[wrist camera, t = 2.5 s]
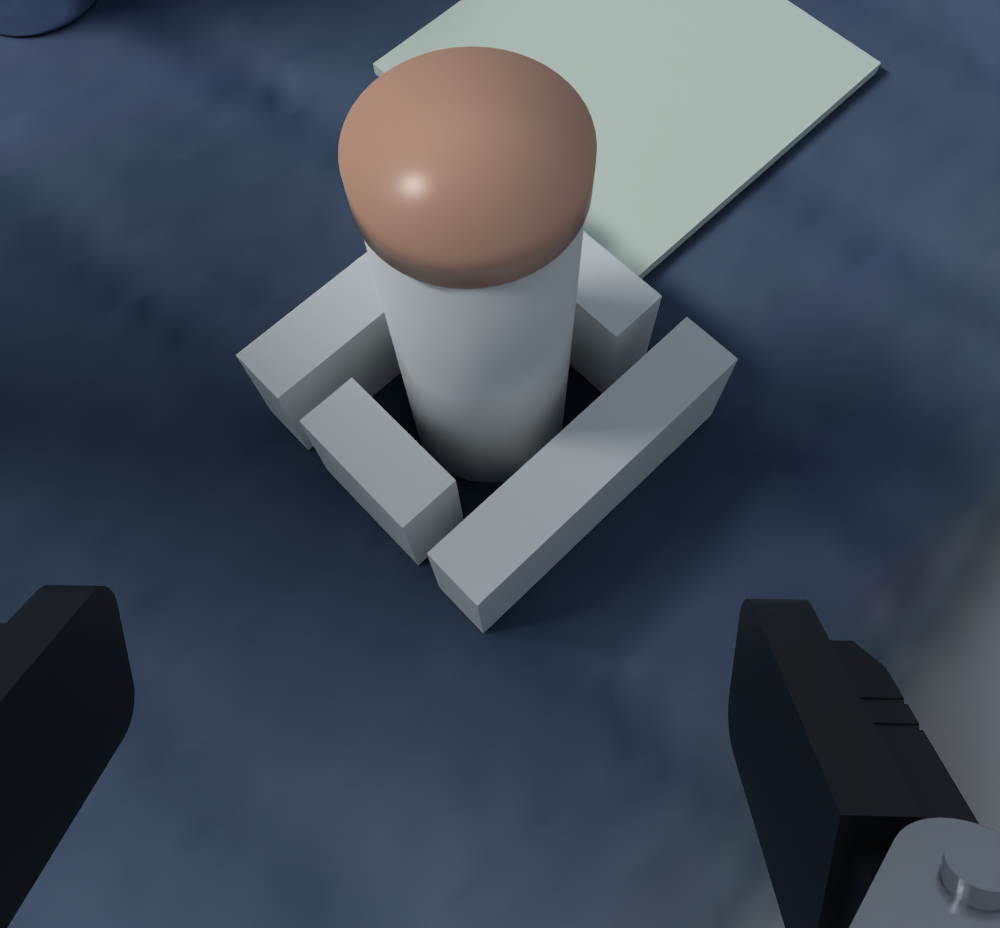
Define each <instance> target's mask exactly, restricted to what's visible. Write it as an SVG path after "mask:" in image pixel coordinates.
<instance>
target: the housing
mask: <svg viewBox="0 0 1000 928" xmlns="http://www.w3.org/2000/svg"><path fill="white" fill-rule="evenodd" d="M661 298H662V296H661V295H660V294H659V293H658V292H657V291H655V290H654V289H653V288H652V287H651V286H649V285H648V284H647V283H646V282H645V281H643V280H642V279H641V278H640V277H639V276H637V275H636V274H635V273H634V272H632V271H631V270H630V269H629V268H628V267H626V266H625V265H624V264H623V263H622V262H620V261H619V260H618V259H617V258H616V257H614V256H613V255H612V254H611V253H610V252H608V251H607V250H606V249H605V248H603V247H602V246H601V245H600V244H599V243H597V242H596V241H595V240H594V239H593V238H591V237H590V236H589V235H588V234H587V233H585V232H584V231H583V240H582V250H581V259H580V269H579V278H578V287H577V297H576V306H575V316H574V325H573V334H572V344H571V353H570V363H569V364H570V365H571V366H572V367H573V368H574V369H576V370H577V371H578V372H579V373H580V374H581V375H582V376H583V377H585V378H586V379H587V380H588V381H589V382H590V383H591V384H592V385H593V386H595V387H596V388H597V389H598V390H599V391H600V392H601V393H602V394H601V395H600V396H599V397H598V398H597V399H596V400H595V401H594V402H593V403H591V404H590V405H589V406H588V407H587V408H586V409H585V410H584V411H583V412H582V413H580V414H579V415H578V416H577V417H576V418H575V419H574V420H573V421H572V422H571V423H569V424H568V425H567V426H566V427H565V428H564V429H563V430H562V431H561V432H560V433H558V434H557V435H556V436H555V437H554V438H553V439H552V440H551V441H550V442H549V443H547V444H546V445H545V446H544V447H543V448H542V449H541V450H540V451H539V452H538V453H537V454H535V455H534V456H533V457H532V458H531V459H530V460H529V461H528V462H527V463H526V464H524V465H523V466H522V467H521V468H520V469H519V470H518V471H517V472H516V473H515V474H513V475H512V476H511V477H510V478H509V479H508V480H507V481H506V482H505V483H504V484H502V485H501V486H500V487H499V488H498V489H497V490H496V491H495V492H494V493H493V494H491V495H490V496H489V497H488V498H487V499H486V500H485V501H484V502H483V503H482V504H480V505H479V506H478V507H477V508H476V509H475V510H474V511H473V512H472V513H471V514H470V515H468V516H467V517H466V518H465V519H463V514H462V509H461V504H460V499H459V494H458V489H457V484H456V480H455V479H454V478H453V477H452V476H451V475H450V474H449V473H448V472H447V471H446V470H445V469H444V468H443V467H442V466H441V465H440V464H439V463H438V462H437V461H436V460H435V459H434V458H433V457H432V456H431V455H430V454H429V453H428V452H427V451H426V450H425V449H424V448H423V447H422V446H421V445H420V444H419V443H418V442H417V441H416V440H415V439H414V438H413V437H412V436H411V435H410V434H409V433H408V432H407V431H406V430H405V429H404V428H403V427H402V426H401V425H400V424H399V423H398V422H396V421H395V420H394V419H393V418H392V417H391V416H390V415H389V414H388V413H387V412H386V411H385V410H384V409H383V408H382V407H381V406H380V405H379V404H378V403H377V402H376V401H375V400H374V399H373V398H372V396H374V395H375V394H376V393H377V392H378V391H380V390H381V389H382V388H383V387H384V386H385V385H387V384H388V383H389V382H390V381H391V380H393V379H394V378H395V377H396V376H397V375H399V374H400V373H401V371H400V367H399V364H398V360H397V356H396V353H395V349H394V346H393V342H392V338H391V335H390V331H389V328H388V324H387V320H386V317H385V313H384V310H383V306H382V302H381V299H380V295H379V292H378V288H377V284H376V281H375V277H374V274H373V270H372V266H371V263H370V259H369V256H368V252H366V253H365V254H364V255H362V256H361V257H360V258H359V259H357V260H356V261H355V262H353V263H352V264H351V265H350V266H348V267H347V268H346V269H345V270H343V271H342V272H341V273H339V274H338V275H337V276H336V277H334V278H333V279H332V280H331V281H329V282H328V283H327V284H325V285H324V286H323V287H322V288H320V289H319V290H318V291H317V292H315V293H314V294H313V295H311V296H310V297H309V298H308V299H306V300H305V301H304V302H303V303H301V304H300V305H299V306H297V307H296V308H295V309H294V310H292V311H291V312H290V313H289V314H287V315H286V316H285V317H283V318H282V319H281V320H280V321H278V322H277V323H276V324H275V325H273V326H272V327H271V328H269V329H268V330H267V331H266V332H264V333H263V334H262V335H261V336H259V337H258V338H257V339H255V340H254V341H253V342H252V343H250V344H249V345H248V346H247V347H245V348H244V349H243V350H241V351H240V352H239V353H238V354H236V356H237V358H238V359H239V361H240V363H241V364H242V366H243V367H244V369H245V371H246V372H247V374H248V375H249V377H250V378H251V380H252V382H253V383H254V385H255V386H256V388H257V390H258V391H259V393H260V394H261V396H262V398H263V399H264V401H265V402H266V404H267V405H268V407H269V409H270V410H271V412H272V413H273V414H274V415H275V416H276V417H277V418H278V419H279V420H280V421H281V422H282V423H283V424H284V425H285V426H286V427H287V428H288V429H289V430H290V432H291V433H292V434H293V435H294V436H295V437H296V438H297V439H298V440H299V441H300V442H301V443H302V444H303V445H304V446H305V447H306V448H307V449H308V450H309V449H310V448H311V447H313V446H314V448H315V449H316V451H317V453H318V455H319V456H320V458H321V460H322V462H323V463H324V465H325V467H326V469H327V470H328V471H329V472H330V473H331V474H332V476H333V477H334V478H335V479H336V480H337V481H338V482H339V483H340V484H341V485H342V486H343V487H344V488H345V489H346V490H347V491H348V492H349V493H350V494H351V495H352V497H353V498H354V499H355V500H356V501H357V502H358V503H359V504H360V505H361V506H362V507H363V508H364V509H365V510H366V511H367V512H368V513H369V514H370V515H371V516H372V517H373V519H374V520H375V521H376V522H377V523H378V524H379V525H380V526H381V527H382V528H383V529H384V530H385V531H386V532H387V533H388V534H389V535H390V536H391V537H392V538H393V539H394V541H395V542H396V543H397V544H398V545H399V546H400V547H401V548H402V549H403V550H404V551H405V552H406V553H407V554H408V555H409V556H410V557H411V558H412V559H413V560H414V562H415V563H416V564H417V565H419V564H420V563H421V562H422V561H424V560H425V559H426V558H427V557H428V558H429V561H430V564H431V566H432V569H433V572H434V574H435V577H436V580H437V582H438V585H439V588H440V589H441V590H442V591H443V592H444V593H445V594H446V595H447V596H448V597H449V598H450V599H451V600H452V601H453V602H454V603H455V604H456V606H457V607H458V608H459V609H460V610H461V611H462V612H463V613H464V614H465V615H466V616H467V617H468V618H469V619H470V620H471V621H472V622H473V623H474V624H475V625H476V626H477V628H478V629H479V630H480V631H481V632H482V633H485V632H486V631H487V630H488V629H489V628H490V627H491V626H492V625H493V624H494V623H495V622H496V621H497V620H498V619H499V618H500V617H501V616H502V615H503V614H504V613H505V612H506V611H507V610H509V609H510V608H511V607H512V606H513V605H514V604H515V603H516V602H517V601H518V600H519V599H520V598H521V597H522V596H523V595H524V594H525V593H526V592H527V591H528V590H529V589H530V588H531V587H533V586H534V585H535V584H536V583H537V582H538V581H539V580H540V579H541V578H542V577H543V576H544V575H545V574H546V573H547V572H548V571H549V570H550V569H551V568H552V567H553V566H554V565H555V564H556V563H558V562H559V561H560V560H561V559H562V558H563V557H564V556H565V555H566V554H567V553H568V552H569V551H570V550H571V549H572V548H573V547H574V546H575V545H576V544H577V543H578V542H579V541H580V540H582V539H583V538H584V537H585V536H586V535H587V534H588V533H589V532H590V531H591V530H592V529H593V528H594V527H595V526H596V525H597V524H598V523H599V522H600V521H601V520H602V519H603V518H604V517H606V516H607V515H608V514H609V513H610V512H611V511H612V510H613V509H614V508H615V507H616V506H617V505H618V504H619V503H620V502H621V501H622V500H623V499H624V498H625V497H626V496H627V495H628V494H630V493H631V492H632V491H633V490H634V489H635V488H636V487H637V486H638V485H639V484H640V483H641V482H642V481H643V480H644V479H645V478H646V477H647V476H648V475H649V474H650V473H651V472H652V471H653V470H655V469H656V468H657V467H658V466H659V465H660V464H661V463H662V462H663V461H664V460H665V459H666V458H667V457H668V456H669V455H670V454H671V453H672V452H673V451H674V450H675V449H676V448H677V447H679V446H680V445H681V444H682V443H683V442H684V441H685V440H686V439H687V438H688V437H689V436H690V435H691V434H692V433H693V432H694V431H695V430H696V429H697V428H698V427H699V426H700V425H701V424H703V423H704V422H705V421H706V420H707V419H708V418H709V417H710V416H711V414H712V412H713V410H714V408H715V406H716V404H717V402H718V400H719V398H720V396H721V393H722V391H723V389H724V387H725V385H726V383H727V381H728V379H729V377H730V375H731V373H732V371H733V369H734V367H735V364H736V362H737V360H738V358H736V357H735V356H734V355H733V354H732V353H730V352H729V351H728V350H727V349H725V348H724V347H723V346H722V345H721V344H719V343H718V342H717V341H716V340H715V339H713V338H712V337H711V336H710V335H709V334H707V333H706V332H705V331H704V330H703V329H701V328H700V327H699V326H698V325H696V324H695V323H694V322H693V321H692V320H690V319H689V318H688V317H686V318H685V319H684V320H683V321H681V322H680V323H679V324H678V325H677V326H676V327H675V328H674V329H673V330H672V331H671V332H669V333H668V334H667V335H666V336H665V337H664V338H663V339H662V340H661V341H660V342H658V343H657V344H656V345H655V346H654V347H653V348H652V349H651V350H650V351H649V352H647V349H648V346H649V342H650V338H651V335H652V331H653V327H654V324H655V320H656V316H657V313H658V309H659V305H660V302H661Z"/></svg>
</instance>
